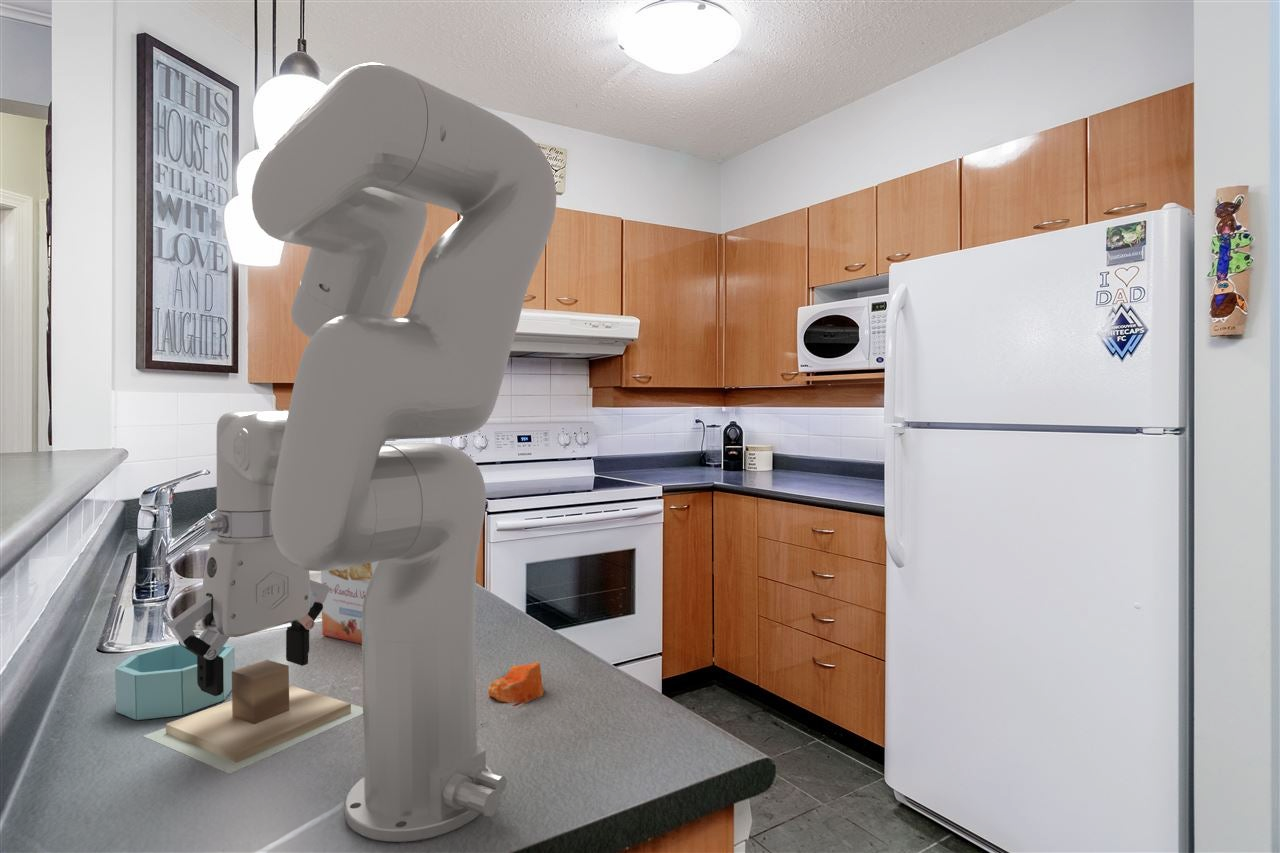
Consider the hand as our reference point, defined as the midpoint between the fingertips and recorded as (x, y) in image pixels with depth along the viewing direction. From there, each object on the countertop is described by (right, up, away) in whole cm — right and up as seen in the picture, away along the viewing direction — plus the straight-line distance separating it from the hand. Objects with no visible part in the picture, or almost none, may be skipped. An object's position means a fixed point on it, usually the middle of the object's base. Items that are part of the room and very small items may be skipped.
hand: (256, 676), depth 77 cm
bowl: (-13, -5, +6) cm, 15 cm away
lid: (+1, -5, 0) cm, 5 cm away
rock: (+27, -6, +8) cm, 29 cm away
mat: (+1, -5, 0) cm, 5 cm away
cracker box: (+1, -5, +30) cm, 30 cm away
